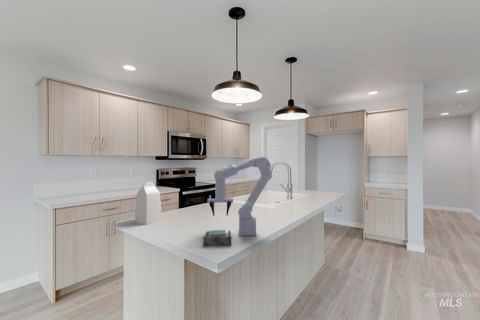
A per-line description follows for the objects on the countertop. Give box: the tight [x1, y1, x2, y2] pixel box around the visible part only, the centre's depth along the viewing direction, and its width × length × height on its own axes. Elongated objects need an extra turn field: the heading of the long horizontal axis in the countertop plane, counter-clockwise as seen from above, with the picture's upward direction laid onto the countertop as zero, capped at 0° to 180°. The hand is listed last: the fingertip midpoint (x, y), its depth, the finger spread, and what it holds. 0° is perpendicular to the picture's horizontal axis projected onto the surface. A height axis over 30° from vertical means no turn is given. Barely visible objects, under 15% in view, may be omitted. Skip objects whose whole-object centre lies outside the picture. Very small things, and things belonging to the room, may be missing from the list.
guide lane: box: [202, 230, 232, 247], centre depth 115 cm, size 13×18×4 cm
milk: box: [134, 181, 163, 226], centre depth 148 cm, size 12×12×26 cm
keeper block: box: [209, 229, 227, 236], centre depth 111 cm, size 8×6×5 cm
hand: (220, 215), depth 127 cm, fingers open, 7 cm apart
